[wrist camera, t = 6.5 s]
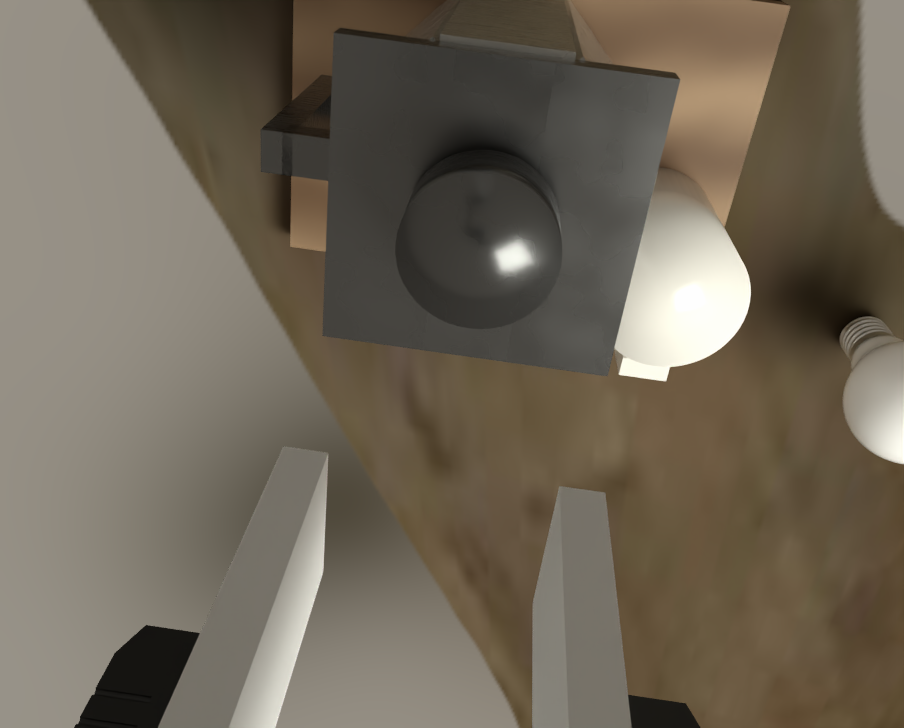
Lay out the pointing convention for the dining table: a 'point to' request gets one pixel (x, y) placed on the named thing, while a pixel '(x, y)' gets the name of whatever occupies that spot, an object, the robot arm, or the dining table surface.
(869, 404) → the lightbulb
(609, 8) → the board
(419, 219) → the plunger
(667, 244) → the mug
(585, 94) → the carafe
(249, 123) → the dining table surface
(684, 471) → the dining table surface
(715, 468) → the dining table surface
